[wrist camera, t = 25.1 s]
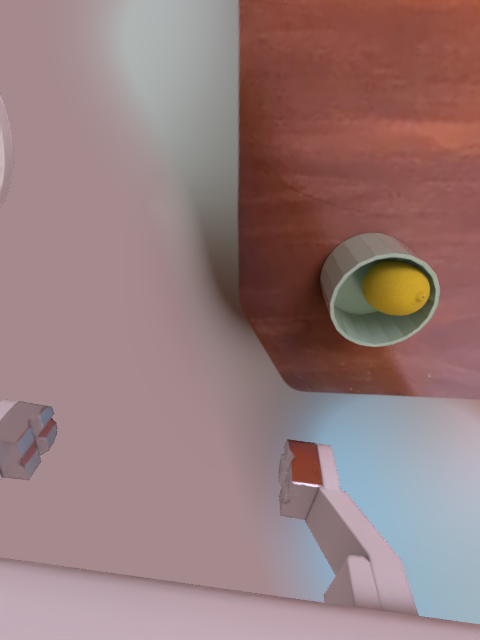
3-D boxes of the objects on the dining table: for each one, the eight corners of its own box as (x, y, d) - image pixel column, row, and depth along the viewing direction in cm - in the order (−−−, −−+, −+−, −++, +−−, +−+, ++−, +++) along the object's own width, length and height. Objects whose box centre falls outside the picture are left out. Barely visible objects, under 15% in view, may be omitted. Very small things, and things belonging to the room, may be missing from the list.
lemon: (396, 260, 38) (456, 273, 30) (380, 306, 39) (435, 328, 32) (356, 251, 36) (410, 263, 29) (342, 299, 37) (390, 322, 30)
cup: (311, 308, 41) (319, 339, 35) (333, 226, 36) (347, 246, 30) (392, 319, 41) (414, 352, 35) (426, 239, 36) (459, 262, 30)
